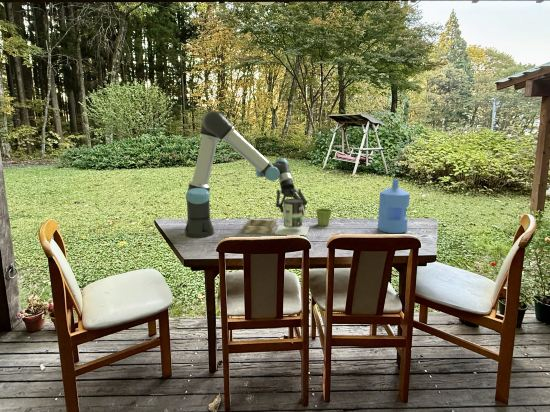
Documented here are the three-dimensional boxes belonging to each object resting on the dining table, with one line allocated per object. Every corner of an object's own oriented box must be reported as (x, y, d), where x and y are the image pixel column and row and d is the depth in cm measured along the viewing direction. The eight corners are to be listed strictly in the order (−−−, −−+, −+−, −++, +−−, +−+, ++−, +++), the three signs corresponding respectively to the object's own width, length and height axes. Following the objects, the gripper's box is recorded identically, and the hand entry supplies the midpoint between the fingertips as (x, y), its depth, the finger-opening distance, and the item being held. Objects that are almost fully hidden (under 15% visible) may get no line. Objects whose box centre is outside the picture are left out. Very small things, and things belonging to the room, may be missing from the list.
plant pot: (319, 221, 229) (319, 207, 227) (333, 224, 224) (334, 209, 223) (312, 225, 221) (312, 210, 219) (327, 227, 217) (328, 212, 215)
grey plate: (274, 234, 203) (274, 233, 203) (279, 226, 220) (279, 225, 219) (306, 236, 201) (306, 235, 200) (309, 227, 217) (309, 226, 217)
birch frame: (243, 232, 207) (243, 226, 206) (249, 224, 222) (249, 219, 221) (271, 233, 204) (271, 227, 204) (276, 226, 219) (276, 220, 218)
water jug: (371, 228, 216) (374, 178, 210) (392, 224, 223) (395, 177, 217) (391, 235, 203) (395, 182, 197) (413, 231, 210) (417, 180, 204)
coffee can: (303, 223, 213) (303, 198, 210) (301, 228, 204) (301, 202, 201) (285, 222, 216) (285, 198, 212) (281, 227, 206) (281, 202, 203)
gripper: (303, 185, 223) (312, 218, 211) (265, 187, 217) (273, 221, 206) (306, 177, 217) (316, 211, 205) (268, 179, 211) (275, 214, 199)
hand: (294, 216), depth 205 cm, fingers closed on coffee can, 10 cm apart
